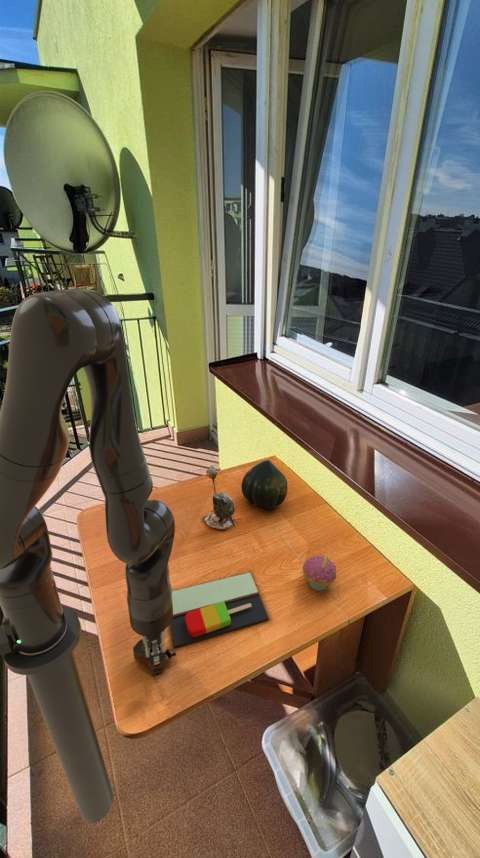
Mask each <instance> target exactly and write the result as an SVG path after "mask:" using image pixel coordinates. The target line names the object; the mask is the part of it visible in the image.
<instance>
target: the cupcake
mask: <svg viewBox="0 0 480 858" xmlns="http://www.w3.org/2000/svg"><path fill="white" fill-rule="evenodd" d="M329 557H330V556H329V553H327V554H326V555H325V556H323V555H313V556H309V558H307V559H306V560H305V561H304V563H303V565H302V573H303V577H304V579H305V580H306V581H308V585H309V587H310V588H311V589H313V590H314V591H323V590H326V588H327V587H328V586H329V585H331V584H333V583H334V581H335V580H336V579H337V567H336V565H335V563H334V562H332V560H330V559H329Z"/></svg>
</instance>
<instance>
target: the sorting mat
mask: <svg viewBox="0 0 480 858" xmlns="http://www.w3.org/2000/svg"><path fill="white" fill-rule="evenodd" d="M223 601H224V603H225V605H226V608H227V610H230V609H233V608H236V607H239V606H242V605H245V604H248V603H251V605H252V606H251V607H250V608H247V609H244V610H241V611H238V612H235V613H232V614H229V616H230V618H231V624H230V625H229V626H226V627H223V628H220V629H217V630H214V631H211V632H208V633H206V634H203V635H200V636H197V637H190V635H189V634H188V631H187V627H186V623H185V616H186V614H187V613H189V612H191V611H194V610H198V609H201V608H204V607H207V606H210V605H213V604H216V603H220V602H223ZM172 602H173V618H172V621H171V623H170V628H171V635H172V643H173V648H174V649H176V648H179V647H183V646H185V645H189V644H193V643H196V642H199V641H203V640H207V639H210V638H213V637H216V636H220V635H222V634H226V633H229V632H232V631H236V630H239V629H242V628H246V627H250V626H252V625H257V624H259V623H262V622H266V621H269V620H270V618H269V615H268V613H267V610H266V608H265V605H264V603H263V601H262V597H261V596H260V591H258V588H257V586H256V583H255V581H254V578H253V575H252V573H251V572H246V573H242V574H237V575H234V576H230V577H229V576H228V577H226V578H222V579H218V580H214V581H209V582H205V583H201V584H197V585H193V586H188V587H183V588H181V589H176V590H172Z"/></svg>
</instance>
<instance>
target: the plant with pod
mask: <svg viewBox="0 0 480 858" xmlns="http://www.w3.org/2000/svg"><path fill="white" fill-rule="evenodd" d="M205 473H206V474H205V476H206V477H208V478H209V479H210V480H212V486H213V492H214V493H213V495H212V508H213V510H211V511H210V512H209V513H207V514H206V515H204V516H202V520H203V521H204V522H205V523H206V524H207V525H208V527H210V528H212V529H217V530H223V531H224V530H227V529H229V528H230V527H232V526H234V527H237V524H236V523H235V520H236V519H235V518H234V517H232V516H233V515H234V514H235V512H236V509H235V506H236V505H235V503H234V500H233V499H232V497H231V496H230V495H228V494H227V493H225V492H217V491H216V485H215V480H216V478H217V475H218V471H217V469H216V468H215V466H213V465H210V466H209V467H208V468H207V470H206V471H205Z"/></svg>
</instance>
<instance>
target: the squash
mask: <svg viewBox="0 0 480 858" xmlns="http://www.w3.org/2000/svg"><path fill="white" fill-rule="evenodd" d="M240 485H241V493H242V495H243V497H244V498H245V499H246V500H247V502H248V504H249V505H252V506H254V505H255V506H256V507H263V509H264V510H266V511H272V510H273V509H274V508H275V507H278V506H281V505H282V504H283V502H284V501H285V499H286V497H287V494H288V480H287V477H286V476H285V475H284V474H283V473H282V471H281V470H280V469H279V468H278V467H277V466H276V465H275V464H274V463H273V461H271V460H270V459H266V460H263V461H261V462H259V463H257V464H256V465H253V466H252V467H251V468H249V469H248V471H247V472H245V474H244V476H243V478H242V481H241V484H240Z"/></svg>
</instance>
